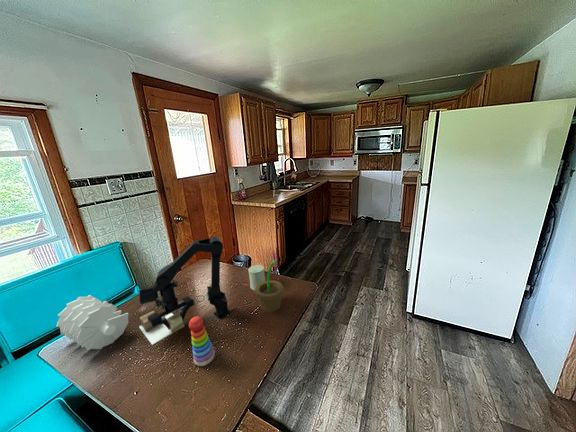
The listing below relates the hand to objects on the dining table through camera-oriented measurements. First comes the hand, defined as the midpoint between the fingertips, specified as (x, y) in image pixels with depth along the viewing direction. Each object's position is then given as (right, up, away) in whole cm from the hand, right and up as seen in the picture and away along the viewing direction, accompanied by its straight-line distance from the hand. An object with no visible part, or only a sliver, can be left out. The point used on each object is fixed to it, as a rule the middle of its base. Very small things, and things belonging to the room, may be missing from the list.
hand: (175, 325), depth 106 cm
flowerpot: (+43, +5, +12) cm, 45 cm away
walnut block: (-13, -1, +2) cm, 13 cm away
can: (+34, +9, +30) cm, 46 cm away
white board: (-7, -1, +2) cm, 8 cm away
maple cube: (0, -1, 0) cm, 1 cm away
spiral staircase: (-34, -4, -2) cm, 34 cm away
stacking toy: (+19, -5, -17) cm, 26 cm away
